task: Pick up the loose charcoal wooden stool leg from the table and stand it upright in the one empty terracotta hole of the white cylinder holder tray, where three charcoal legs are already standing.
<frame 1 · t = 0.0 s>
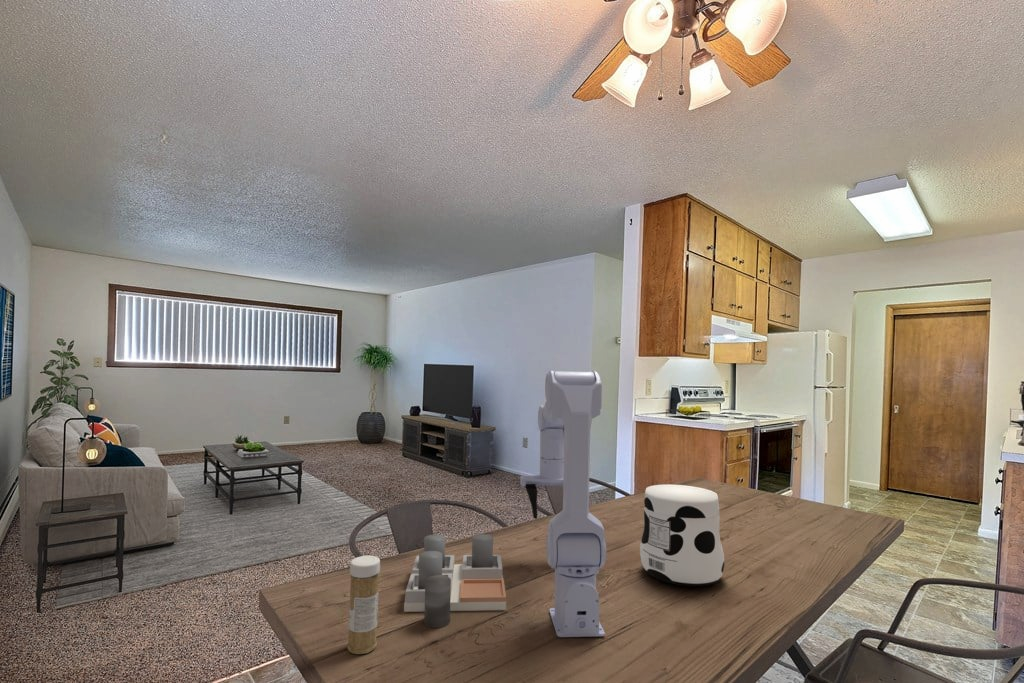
hand: (551, 517, 117), 10 cm above the table, fingers open, 7 cm apart
sprinkles bottle: (362, 649, 79), on the table
milk container: (681, 577, 110), on the table
stool leg: (437, 621, 88), on the table
white cylinder holder tray: (457, 589, 101), on the table
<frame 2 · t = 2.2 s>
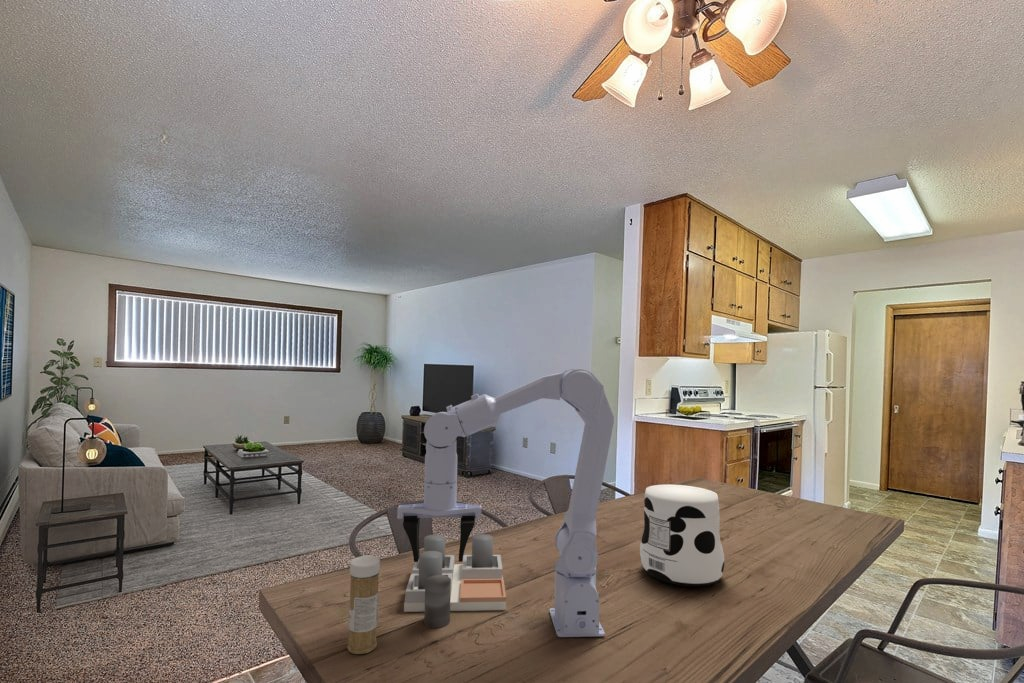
hand: (438, 559, 89), 10 cm above the table, fingers open, 7 cm apart
nothing on the table moved.
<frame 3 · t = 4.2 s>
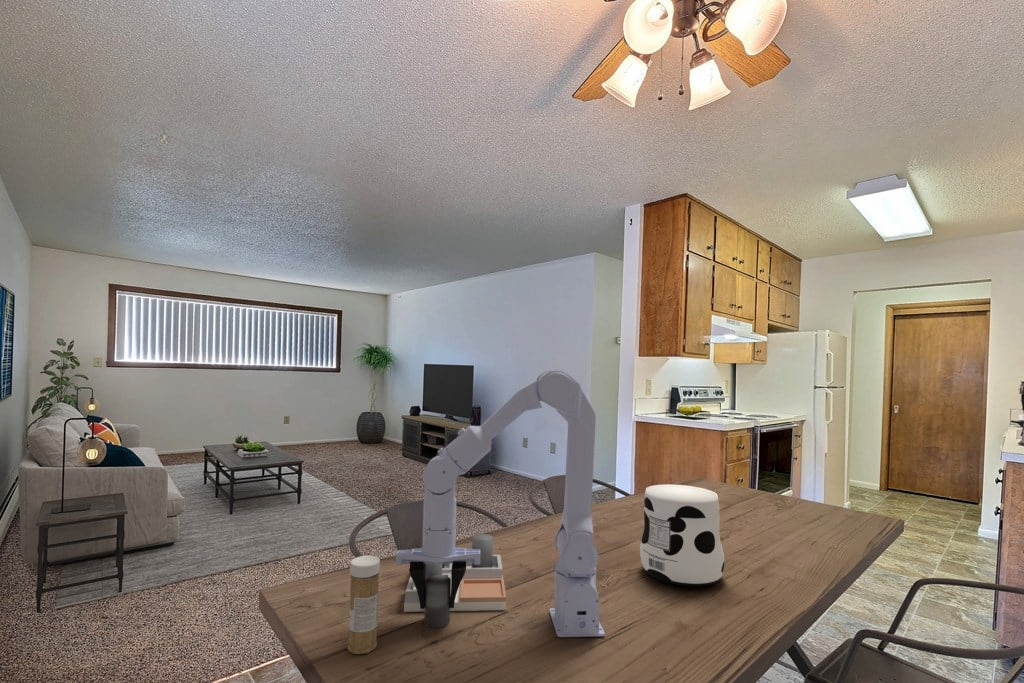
hand: (437, 606, 88), 3 cm above the table, fingers closed on stool leg, 4 cm apart
stool leg: (437, 621, 88), on the table, touching gripper
everything else where it was.
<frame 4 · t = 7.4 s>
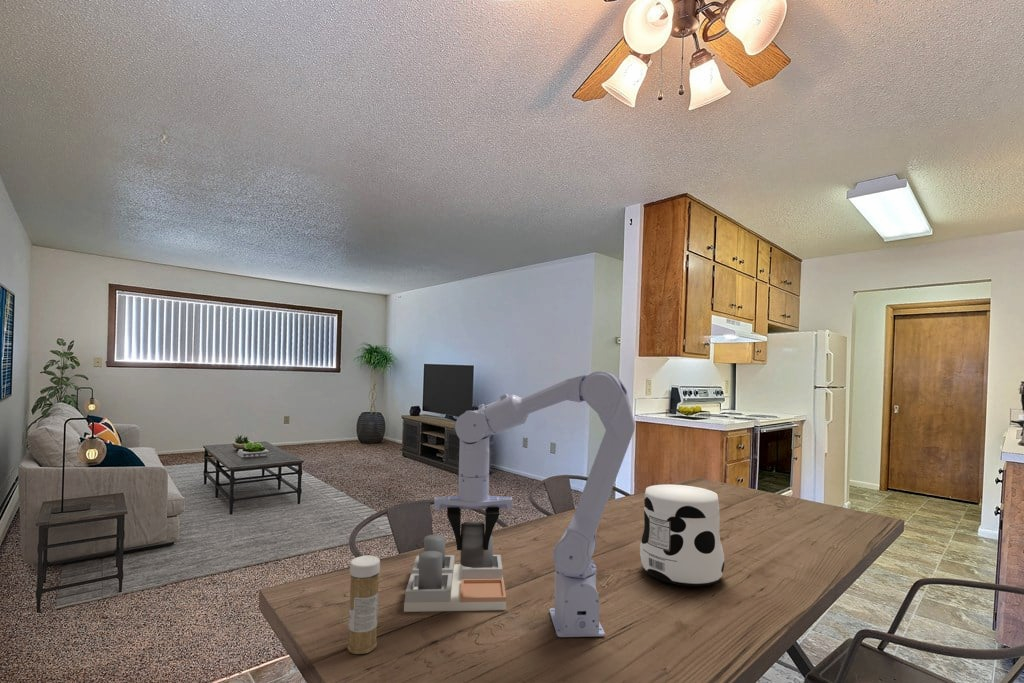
hand: (472, 548, 95), 10 cm above the table, fingers closed on stool leg, 4 cm apart
stool leg: (472, 562, 95), point 8 cm above the table, touching gripper
everything else where it was.
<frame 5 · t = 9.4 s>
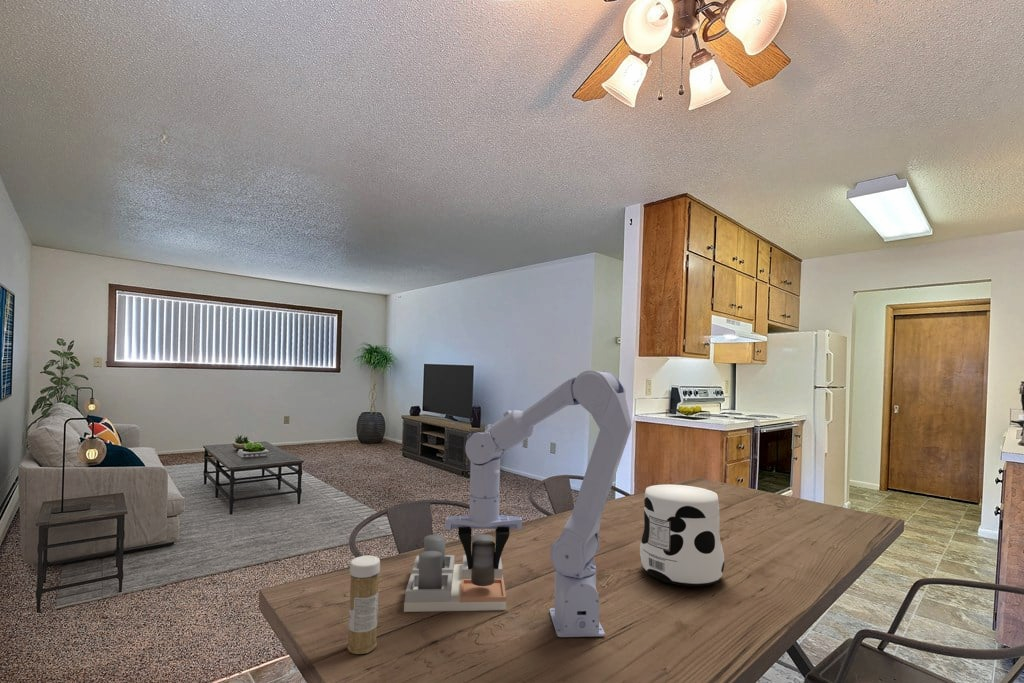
hand: (483, 567, 97), 6 cm above the table, fingers closed on stool leg, 4 cm apart
stool leg: (482, 581, 97), point 3 cm above the table, touching gripper
everything else where it was.
when the fingers open (5 cm above the table, at t = 10.9 s): stool leg stays where it is, resting on white cylinder holder tray.
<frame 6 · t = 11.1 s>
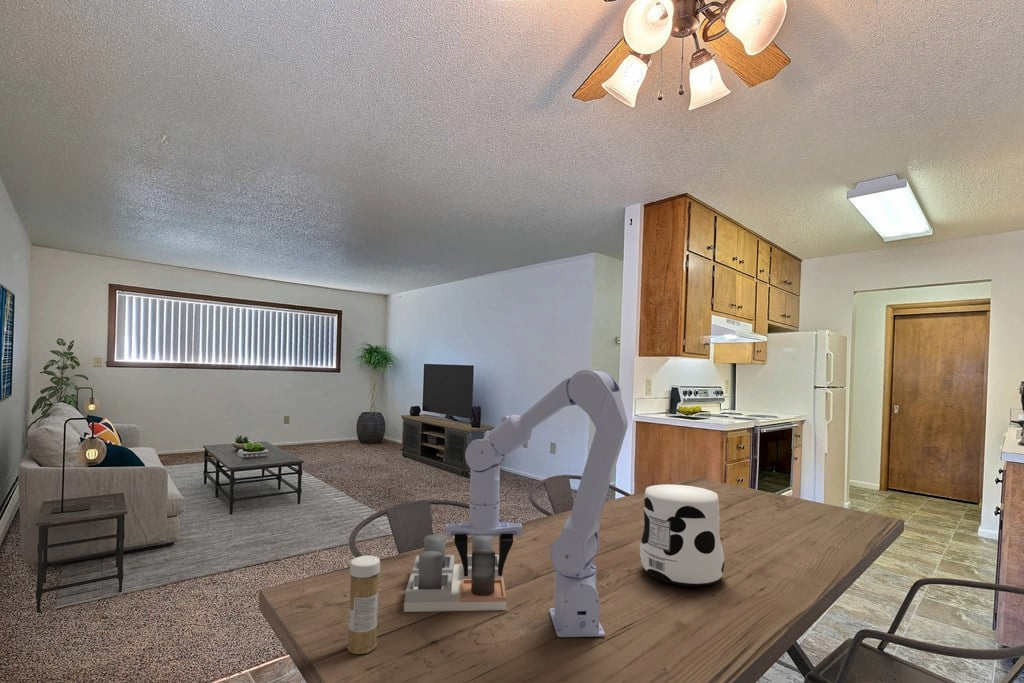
hand: (483, 574, 97), 5 cm above the table, fingers open, 6 cm apart
stool leg: (482, 590, 97), point 2 cm above the table, touching white cylinder holder tray
everything else where it was.
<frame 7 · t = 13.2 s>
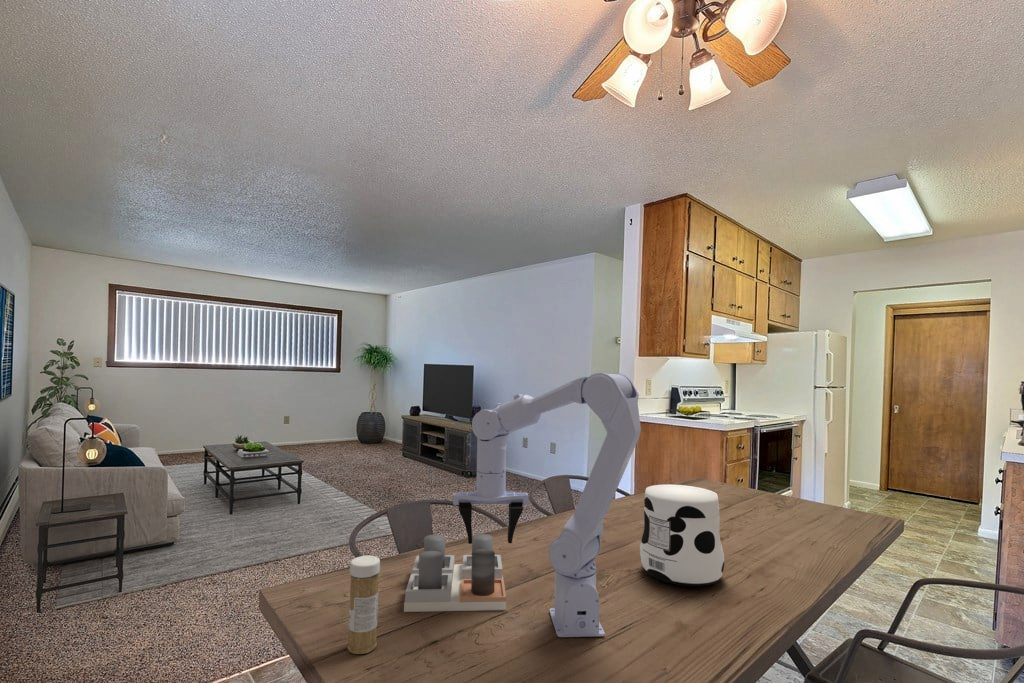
hand: (490, 541, 99), 10 cm above the table, fingers open, 7 cm apart
nothing on the table moved.
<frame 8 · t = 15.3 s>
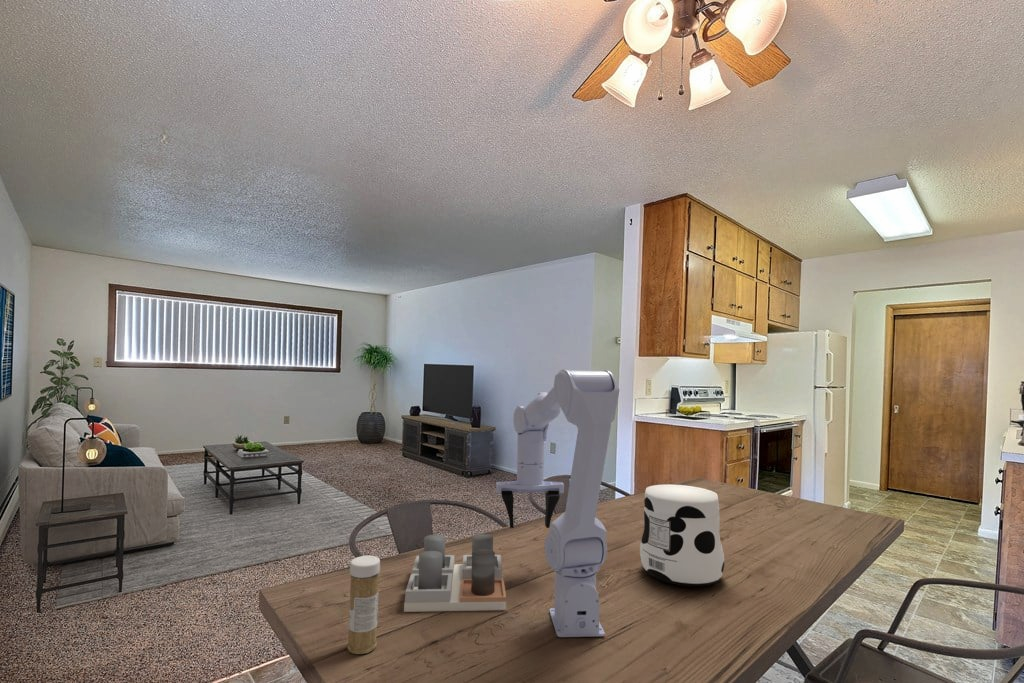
hand: (529, 526, 109), 10 cm above the table, fingers open, 7 cm apart
nothing on the table moved.
at the end: stool leg 0.0 cm from the target spot on the white cylinder holder tray, point 1.7 cm above the white cylinder holder tray's base; stool leg tilted 1°; the gripper is holding nothing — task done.
